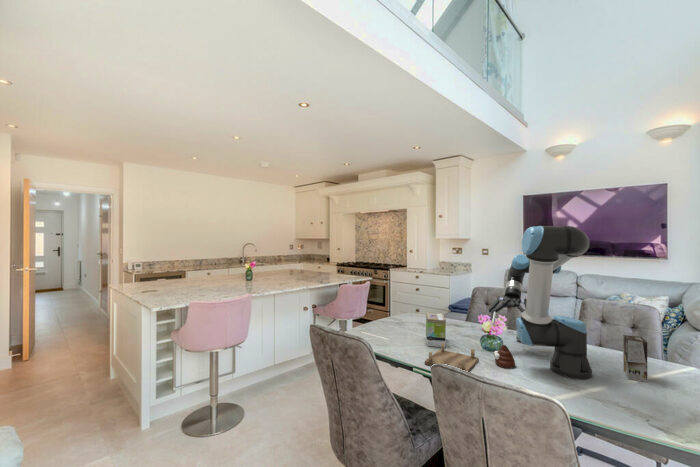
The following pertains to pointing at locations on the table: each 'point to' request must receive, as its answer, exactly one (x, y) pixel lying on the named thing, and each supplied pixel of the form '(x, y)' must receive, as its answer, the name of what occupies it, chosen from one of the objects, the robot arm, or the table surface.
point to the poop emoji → (504, 357)
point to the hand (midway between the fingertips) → (508, 326)
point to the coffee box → (635, 358)
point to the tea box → (435, 329)
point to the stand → (452, 359)
